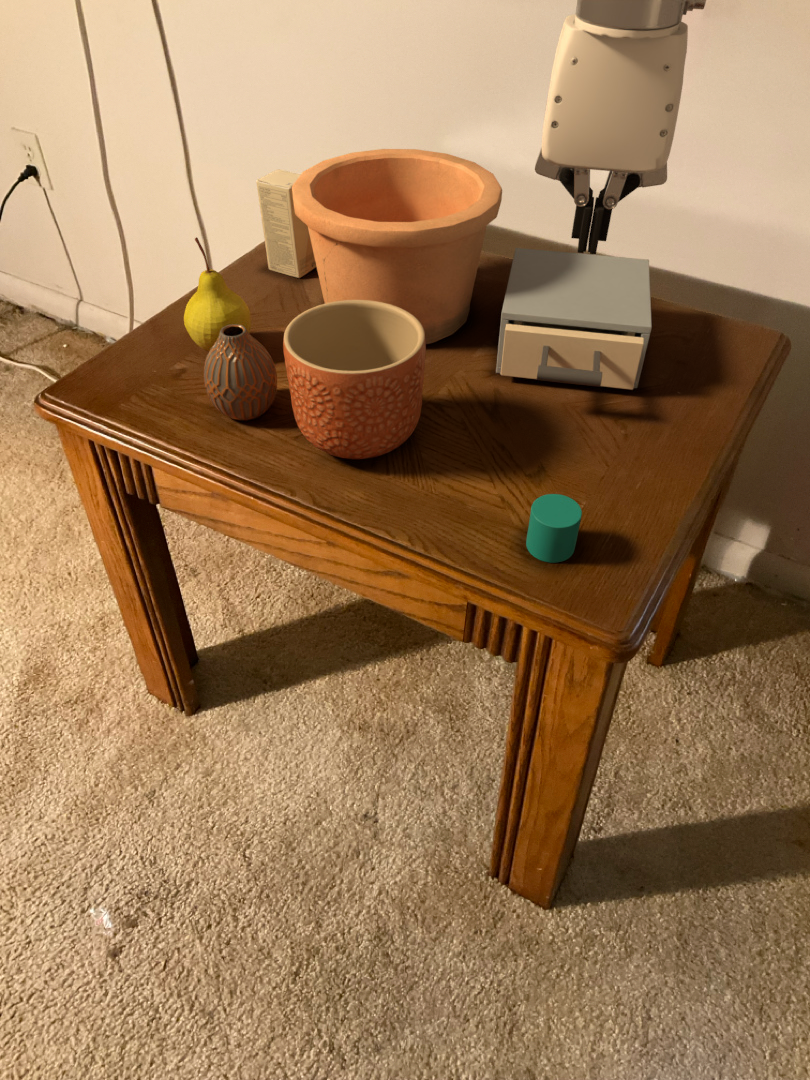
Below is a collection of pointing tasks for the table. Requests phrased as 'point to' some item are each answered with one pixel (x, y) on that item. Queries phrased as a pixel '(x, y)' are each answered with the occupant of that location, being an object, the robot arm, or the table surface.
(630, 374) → the drawer
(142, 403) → the table surface
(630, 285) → the grey cabinet
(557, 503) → the cylinder
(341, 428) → the planter
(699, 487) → the table surface
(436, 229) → the pottery
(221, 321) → the fruit
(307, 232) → the box
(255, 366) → the vase
